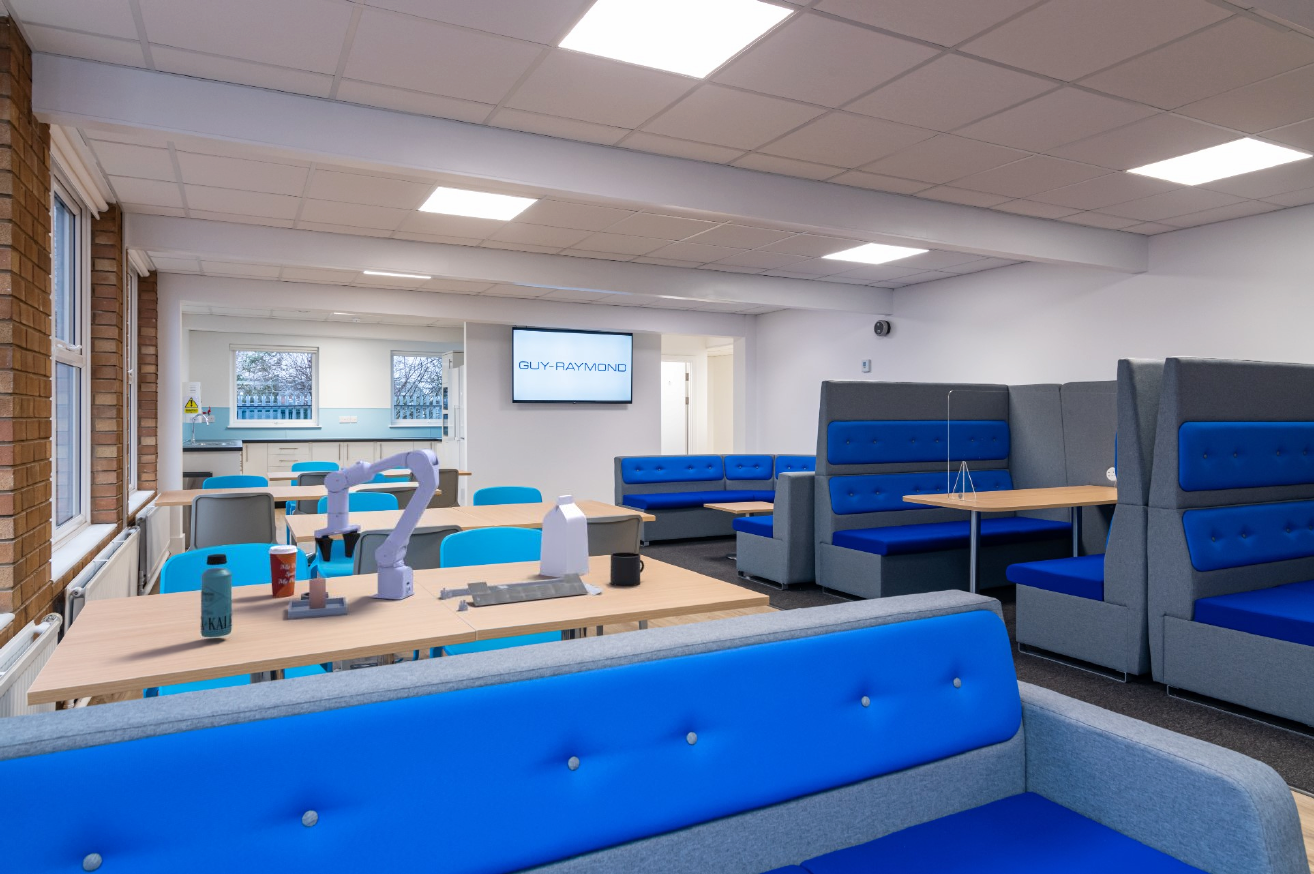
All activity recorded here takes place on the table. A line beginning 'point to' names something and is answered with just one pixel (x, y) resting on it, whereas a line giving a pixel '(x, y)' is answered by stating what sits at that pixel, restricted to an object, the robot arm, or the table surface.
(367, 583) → the table surface
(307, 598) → the sleeve
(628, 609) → the table surface
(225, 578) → the beverage bottle
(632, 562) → the mug
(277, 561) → the paper cup
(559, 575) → the milk
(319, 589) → the peg
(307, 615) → the tray
